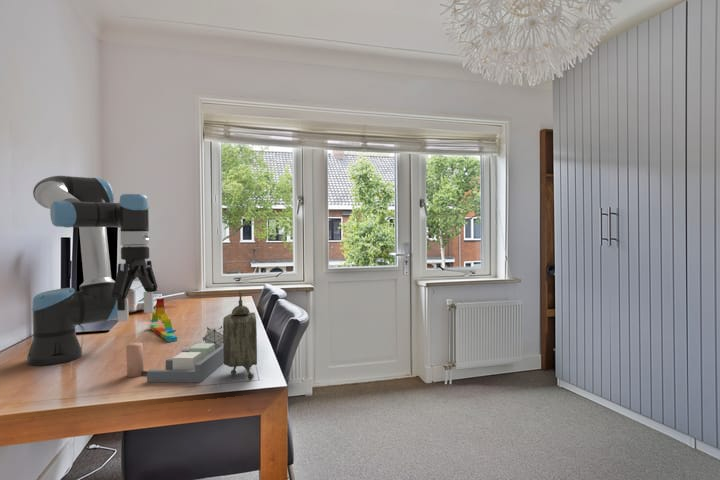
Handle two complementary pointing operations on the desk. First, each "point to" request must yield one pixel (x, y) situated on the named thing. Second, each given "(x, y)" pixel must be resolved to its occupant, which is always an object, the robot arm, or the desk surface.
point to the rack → (197, 375)
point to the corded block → (179, 362)
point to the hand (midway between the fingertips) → (136, 316)
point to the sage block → (203, 348)
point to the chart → (163, 317)
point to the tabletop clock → (240, 338)
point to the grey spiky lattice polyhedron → (214, 336)
